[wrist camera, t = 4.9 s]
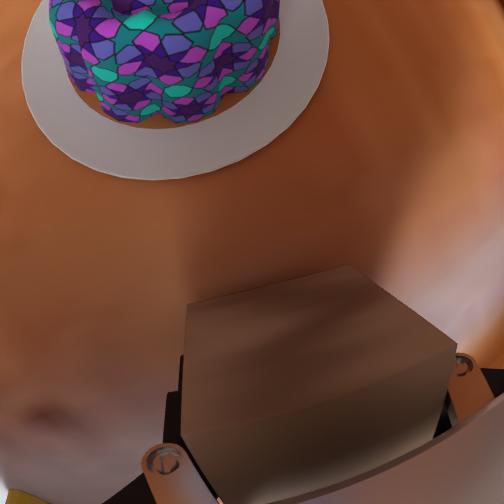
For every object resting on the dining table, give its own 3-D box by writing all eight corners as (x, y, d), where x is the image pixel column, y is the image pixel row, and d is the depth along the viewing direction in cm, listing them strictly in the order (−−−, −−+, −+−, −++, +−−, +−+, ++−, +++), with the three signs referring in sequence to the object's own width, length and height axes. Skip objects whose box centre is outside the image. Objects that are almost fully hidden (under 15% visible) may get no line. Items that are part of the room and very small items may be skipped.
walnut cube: (348, 264, 11) (457, 343, 5) (353, 383, 13) (417, 475, 7) (187, 304, 11) (180, 435, 5) (227, 419, 12) (246, 534, 7)
